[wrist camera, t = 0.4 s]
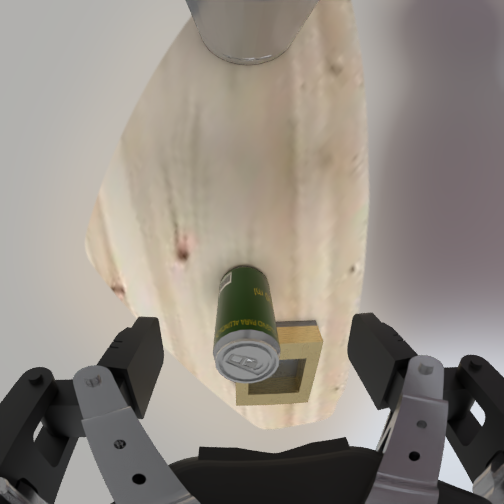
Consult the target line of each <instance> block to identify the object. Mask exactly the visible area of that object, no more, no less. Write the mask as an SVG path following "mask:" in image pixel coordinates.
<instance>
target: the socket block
mask: <svg viewBox="0 0 504 504" xmlns="http://www.w3.org/2000/svg"><path fill="white" fill-rule="evenodd" d="M276 327H277V332H278V338H279V344H280V349H281V351H280V358H279V366H278V368H277V370H276V371H275V373H273V374H272V375H271V376H270V377H269V378H267V379H265V380H263V381H259V382H255V383H238V382H236V405H275V404H291V403H303V402H308V399H309V396H310V392H311V388H312V385H313V381H314V377H315V373H316V369H317V365H318V361H319V357H320V353H321V349H322V345H323V339H322V337H321V334H320V331H319V328H318V326H317V323H316V321H296V322H276Z"/></svg>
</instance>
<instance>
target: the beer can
mask: <svg viewBox="0 0 504 504" xmlns="http://www.w3.org/2000/svg"><path fill="white" fill-rule="evenodd" d="M280 351H281V349H280V344H279V338H278V332H277V327H276V321H275V316H274V310H273V305H272V299H271V294H270V288H269V284H268V281H267V278H266V277H265V276H264V275H263V274H262V273H261V272H260V271H258V270H256V269H254V268H251V267H238V268H235V269H233V270H231V271H230V272H228V273H227V274H226V275H225V276H224V277H223V279H222V281H221V284H220V289H219V298H218V308H217V317H216V327H215V337H214V347H213V355H214V360H215V363H216V368H217V370H218V371H219V373H220V374H221V375H222V376H224V377H225V378H226V379H229V380H231V381H233V382H238V383H255V382H259V381H263V380H265V379H267V378H269V377H270V376H271V375H272V374H273V373H275V371H276V370H277V368H278V366H279V358H280Z"/></svg>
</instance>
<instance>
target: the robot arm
mask: <svg viewBox="0 0 504 504" xmlns="http://www.w3.org/2000/svg"><path fill="white" fill-rule="evenodd" d="M318 1H319V0H186V2H187V5H188V7H189V9H190V11H191V14H192V16H193V19H194V21H195V24H196V26H197V28H198V31H199V33H200V35H201V38H202V40H203V42H204V44H205V45H206V46H207V48H208V49H209V50H210V51H211V52H212V53H214V54H215V55H216V56H218V57H219V58H222V59H224V60H226V61H228V62H232V63H236V64H244V65H250V64H260V63H264V62H268V61H270V60H272V59H274V58H276V57H278V56H279V55H281V54H282V53H284V52H285V51H286V49H287V48H288V47H289V46H290V45H291V43H292V41H293V40H294V38H295V37H296V35H297V34H298V32H299V31H300V29H301V27H302V26H303V24H304V23H305V21H306V20H307V18H308V17H309V15H310V14H311V12H312V10H313V9H314V7H315V6H316V4H317V3H318ZM348 357H349V360H350V362H351V363H352V365H353V366H354V368H355V370H356V372H357V374H358V376H359V377H360V379H361V381H362V382H363V384H364V386H365V388H366V390H367V391H368V393H369V395H370V396H371V399H372V400H373V402H374V404H375V406H376V408H377V409H378V410H381V409H384V408H390V410H391V411H390V413H389V415H388V418H387V421H386V424H385V426H384V429H383V432H382V435H381V437H380V440H379V442H378V445H377V448H376V450H372V449H368V448H363V447H354V446H349V444H348V441H347V439H346V437H344V438H338V439H333V440H326V441H321V442H313V443H309V444H307V445H304V446H301V447H297V448H294V449H291V450H287V451H284V452H281V453H266V452H259V451H252V450H247V449H241V448H221V447H219V448H218V447H199V456H198V457H191V458H187V459H183V460H180V461H177V462H175V463H172V464H170V465H167V463H166V462H165V460H164V459H163V458H162V456H161V455H160V453H159V452H158V450H157V449H156V447H155V446H154V444H153V443H152V441H151V440H150V438H149V437H148V435H147V433H146V432H145V430H144V428H143V427H142V425H141V423H140V422H139V420H138V419H143V418H144V415H145V412H146V409H147V406H148V404H149V401H150V398H151V395H152V392H153V389H154V386H155V384H156V381H157V378H158V376H159V373H160V370H161V367H162V364H163V359H164V350H163V344H162V338H161V332H160V326H159V321H158V318H156V317H138V319H137V320H136V322H135V323H134V325H133V326H132V328H128V327H127V328H126V329H124V330H123V331H121V332H120V333H119V334H118V335H117V336H116V337H115V339H114V342H112V343H111V345H110V347H109V348H108V349H107V351H106V352H105V353H104V355H103V356H102V358H101V359H100V361H99V362H98V364H97V365H94V366H88V367H85V368H82V369H81V370H79V371H78V372H77V373H76V374H75V375H74V377H73V380H55V379H54V376H53V374H52V372H51V371H50V370H49V369H47V368H44V367H36V368H32V369H30V370H28V371H26V372H25V373H24V374H23V375H22V376H21V377H20V378H19V380H18V381H17V382H16V383H15V385H14V386H13V387H12V389H11V390H10V391H9V393H8V394H7V395H6V397H5V398H4V399H3V401H2V402H1V403H0V504H54V502H55V499H56V496H57V493H58V490H59V487H60V484H61V482H62V479H63V476H64V474H65V471H66V468H67V465H68V463H69V460H70V458H71V455H72V453H73V450H74V448H75V445H76V443H77V441H78V438H79V437H87V440H88V442H89V445H90V448H91V450H92V453H93V455H94V458H95V460H96V463H97V465H98V468H99V470H100V472H101V474H102V476H103V479H104V481H105V483H106V485H107V487H108V489H109V491H110V493H111V495H112V497H113V499H114V502H113V503H111V504H504V377H503V376H502V375H500V374H499V372H498V371H497V370H495V368H494V367H493V366H492V365H490V363H489V362H488V361H486V360H485V359H484V358H482V357H480V356H477V355H466V356H464V357H463V358H462V359H461V361H460V364H459V366H458V367H452V368H451V367H450V368H444V367H443V364H442V363H441V362H440V361H439V360H437V359H436V358H434V357H431V356H427V355H417V353H416V352H415V351H414V350H413V349H412V348H411V347H410V346H409V345H408V344H407V343H406V342H405V341H403V338H402V337H401V336H400V335H398V333H397V332H396V331H395V330H394V329H393V328H392V327H390V326H388V325H387V324H385V323H381V321H380V320H379V319H378V318H377V317H376V316H375V315H374V314H373V313H361V314H355V315H354V316H353V320H352V325H351V331H350V336H349V342H348ZM475 400H476V402H477V403H478V404H479V405H480V407H481V408H482V409H483V411H484V412H485V422H484V425H483V426H481V425H480V424H479V422H478V421H477V419H476V418H475V417H474V415H473V414H472V413H471V411H470V409H471V407H472V405H473V404H474V401H475ZM40 421H41V422H42V424H43V427H42V428H41V430H40V432H39V434H38V436H37V438H36V440H35V442H34V440H33V434H34V431H35V429H36V428H37V426H38V424H39V422H40ZM445 436H446V437H447V439H448V441H449V443H450V444H451V446H452V447H453V449H454V451H455V453H456V454H457V456H458V458H459V460H460V462H461V463H462V465H463V467H464V468H465V470H466V472H467V474H468V476H469V478H470V480H471V481H472V483H473V493H471V492H469V491H466V490H463V489H460V488H457V487H455V486H452V485H450V484H448V483H445V482H443V481H440V480H438V477H439V472H440V467H441V461H442V455H443V450H444V442H445Z"/></svg>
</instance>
